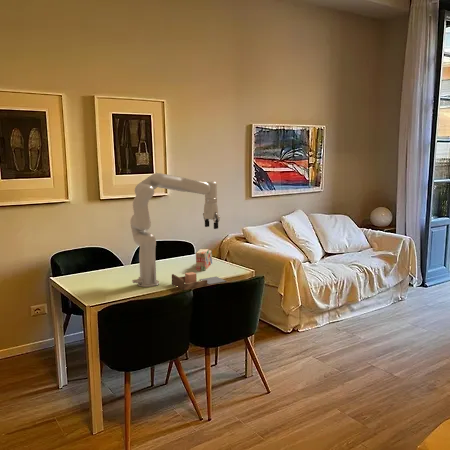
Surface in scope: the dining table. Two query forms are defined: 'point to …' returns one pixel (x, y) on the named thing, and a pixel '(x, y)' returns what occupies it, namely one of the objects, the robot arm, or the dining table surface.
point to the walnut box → (180, 283)
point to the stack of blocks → (203, 259)
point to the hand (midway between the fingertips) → (211, 227)
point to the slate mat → (213, 280)
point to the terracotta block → (190, 277)
